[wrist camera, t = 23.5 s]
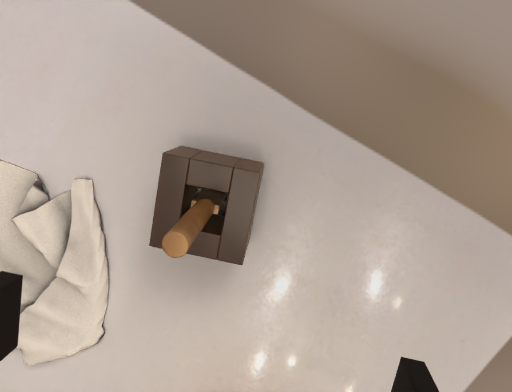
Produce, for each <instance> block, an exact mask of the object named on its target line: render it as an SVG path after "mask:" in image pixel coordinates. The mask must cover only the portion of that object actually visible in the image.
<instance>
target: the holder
mask: <svg viewBox="0 0 512 392" xmlns="http://www.w3.org/2000/svg"><path fill="white" fill-rule="evenodd" d="M263 168H264V163H263V162H258V161H253V160H248V159H243V158H238V157H233V156H228V155H224V154H219V153H214V152H209V151H203V150H199V149H194V148H189V147H184V146H179V147H177V148H174V149H172V150H169V151H167V152H164V153H163V156H162V163H161V170H160V176H159V183H158V190H157V197H156V204H155V210H154V217H153V224H152V231H151V238H150V245H149V246H152V247H157V248H162V240H163V238H164V236H165V235H166V234H167V233H168V232H169V231H170V230H171V228H172V227H173V226H174V225H175V224H176V223H177V222H178V221H179V220H180V219H181V218H182V217H183V215H184V214H185V213H186V212H187V211H188V210H189V209H190V207H191V201H192V199H193V198H194V197H195V196H196V193H197V187H200V188H205V189H210V190H215V191H220V192H224V193H229V196H228V201H227V206H226V212H225V216H222V215H217V214H212V216H211V217H210V218H209V220H208V221H207V223H206V224H205V226H204V227H203V229H202V230H201V232H200V233H199V235H198V236H197V238H196V239H195V241H194V242H193V244H192V245H191V247H190V248H189V250H188V251H187V253H186V254H191V255H196V256H201V257H206V258H210V259H215V260H220V261H224V262H229V263H234V264H239V265H243V261H244V257H245V254H246V250H247V247H248V243H249V239H250V234H251V229H252V224H253V218H254V213H255V208H256V203H257V198H258V193H259V188H260V183H261V178H262V173H263ZM162 249H163V248H162Z"/></svg>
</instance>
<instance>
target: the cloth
mask: <svg viewBox="0 0 512 392" xmlns="http://www.w3.org/2000/svg"><path fill="white" fill-rule="evenodd" d="M1 271H5V272H10V273H15V274H19V275H23V283H22V296H21V309H20V322H19V335H18V346H17V347H16V348H20V349H21V351H22V352H23V361H24V362H25V363H26V364H27V365H29V366H30V365H33V364H37V363H41V362H49V361H52V360H55V359H59V358H62V357H66V356H70V355H72V354H74V353H76V352H79V351H82V350H85V349H87V348H88V347H90V346H92V345H94V344H97V343H98V342H99V341H100V339H101V338H102V336H103V335H104V334H105V332H104V330H103V328H102V323H103V320H104V316H105V311H106V308H107V303H108V288H109V277H108V274H107V271H108V260H107V257H106V253H105V236H104V234H103V231H102V229H101V224H100V213H99V210H98V207H97V204H96V202H95V200H94V195H93V184H92V180H88V179H75V180H74V181H73V183H72V185H71V190H69V191H67V192H65V193H63V194H61V195H59V196H57V197H55V198H54V199H52V200H51V201H49V199H48V194H46V193H44V192H43V191H42V183H41V181H40V179H39V177H38V175H37V174H35V173H33V172H31V171H29V170H26V169H23V168H21V167H18V166H15V165H12V164H9V163H7V162H4V161H1V160H0V272H1Z"/></svg>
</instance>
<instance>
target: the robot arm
mask: <svg viewBox="0 0 512 392" xmlns="http://www.w3.org/2000/svg"><path fill="white" fill-rule="evenodd" d="M22 283H23V275H19V274H15V273H10V272H5V271H1V272H0V361H1V360H2V359H3V358H5V357H6V356H7V355H8V354H9V353H10V352H11V351H13V350H14V349H15V348H16V347H17V346H18V335H19V322H20V309H21V296H22ZM391 392H439V390H438V388H437V386H436V384H435V382H434V380H433V378H432V376H431V374H430V372H429V370H428V368H427V367H426V365H425V363H424V362H422V361H417V360H413V359H408V358H404V357H401V359H400V363H399V366H398V370H397V373H396V377H395V380H394V383H393V387H392V390H391Z"/></svg>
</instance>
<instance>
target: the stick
mask: <svg viewBox="0 0 512 392" xmlns="http://www.w3.org/2000/svg"><path fill="white" fill-rule="evenodd" d="M226 199H227V194H226V193H221V192H216V191H211V190H206V189H202V190H201V191H200V192H199V193H198V194H197V195H196V196H195V197H194V198H193V199H192V201H191V207H190V209H189V210H188V211H187V212H186V213H185V214H184V215H183V217H182V218H181V219H180V220H179V221H178V222H177V223H176V224H175V225H174V226H173V227H172V228H171V230H170V231H169V232H168V233H167V234H166V235H165V236H164V238H163V240H162V248H163V250H164V252H165V253H166V254H167V255H168V256H170V257H174V258H178V257H182V256H183V255H185V254H186V253H187V251H188V250H189V248H190V247H191V245H192V244H193V242H194V241H195V239H196V238H197V236H198V235H199V233H200V232H201V230H202V229H203V227H204V226H205V224H206V223H207V221H208V220H209V218H210V217H211V216H212V214H217V215H218V213H219V212H220V210H221V209H222V207H223V205H224V204H225V202H226Z"/></svg>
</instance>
